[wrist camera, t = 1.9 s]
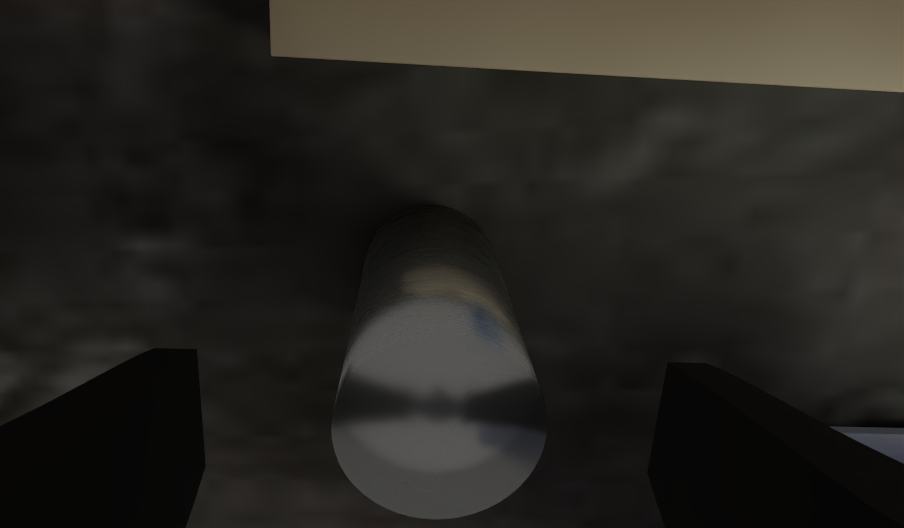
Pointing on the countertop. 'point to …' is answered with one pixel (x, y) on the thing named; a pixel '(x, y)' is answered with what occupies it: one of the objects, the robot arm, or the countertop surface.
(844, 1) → the bore block
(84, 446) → the robot arm
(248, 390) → the countertop surface
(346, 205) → the countertop surface
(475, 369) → the pin
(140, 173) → the countertop surface
